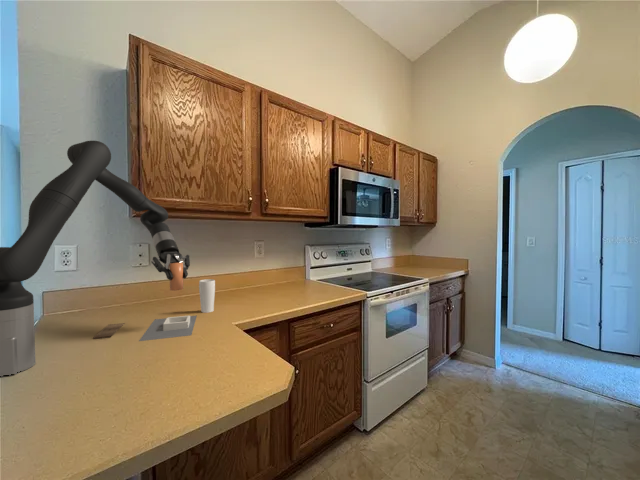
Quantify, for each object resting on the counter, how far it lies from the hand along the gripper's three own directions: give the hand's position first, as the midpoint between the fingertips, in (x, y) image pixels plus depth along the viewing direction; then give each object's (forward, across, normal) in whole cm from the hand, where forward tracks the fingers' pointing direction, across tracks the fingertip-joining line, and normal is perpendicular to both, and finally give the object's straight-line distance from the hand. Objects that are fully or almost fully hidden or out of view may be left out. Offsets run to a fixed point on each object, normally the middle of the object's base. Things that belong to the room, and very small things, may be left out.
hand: (178, 277), depth 106 cm
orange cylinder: (+2, 0, +5) cm, 5 cm away
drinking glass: (+5, +18, +23) cm, 30 cm away
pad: (+3, -14, +25) cm, 29 cm away
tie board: (+12, -2, +16) cm, 20 cm away
